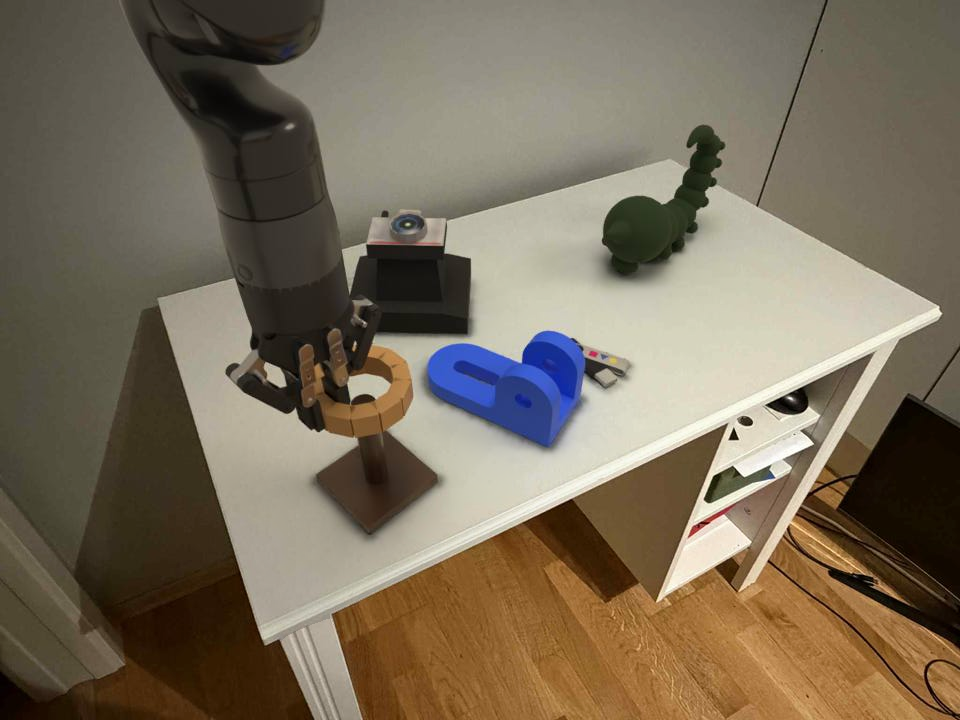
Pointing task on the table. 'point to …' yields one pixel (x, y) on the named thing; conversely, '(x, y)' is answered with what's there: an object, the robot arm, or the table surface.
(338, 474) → the brown peg stand
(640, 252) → the toy figurine
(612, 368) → the usb flash drive
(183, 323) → the table surface
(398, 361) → the orange segmented ring
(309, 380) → the robot arm
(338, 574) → the table surface
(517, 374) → the bracket
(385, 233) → the camera
